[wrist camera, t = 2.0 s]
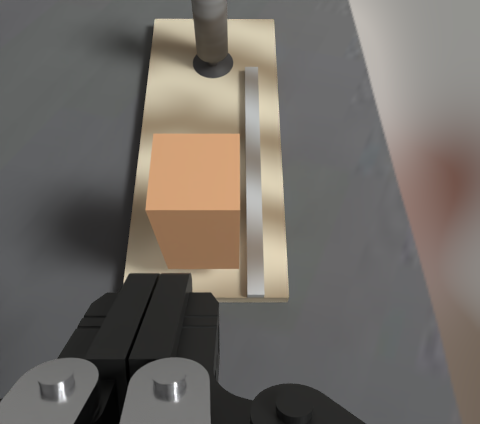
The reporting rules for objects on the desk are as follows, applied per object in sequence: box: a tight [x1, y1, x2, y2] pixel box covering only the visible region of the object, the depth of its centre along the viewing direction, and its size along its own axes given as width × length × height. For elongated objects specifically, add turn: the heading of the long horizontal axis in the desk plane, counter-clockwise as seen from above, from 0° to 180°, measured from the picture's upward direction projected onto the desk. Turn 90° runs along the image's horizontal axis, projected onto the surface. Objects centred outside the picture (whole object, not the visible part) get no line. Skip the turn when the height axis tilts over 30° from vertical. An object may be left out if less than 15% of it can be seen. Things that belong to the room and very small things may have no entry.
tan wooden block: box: [145, 134, 240, 269], centre depth 24 cm, size 4×4×9 cm
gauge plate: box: [123, 0, 289, 302], centre depth 29 cm, size 24×10×10 cm, turn 0°
